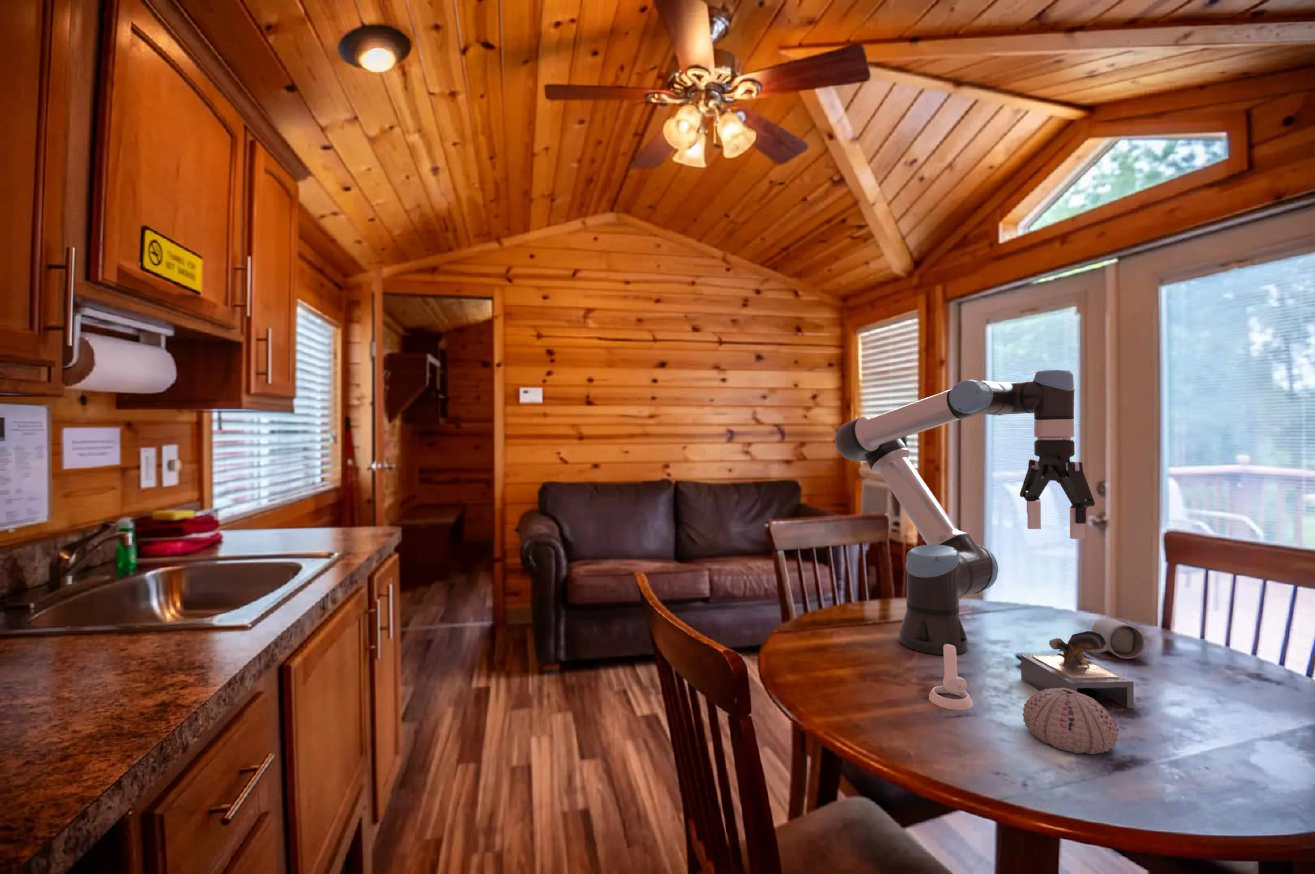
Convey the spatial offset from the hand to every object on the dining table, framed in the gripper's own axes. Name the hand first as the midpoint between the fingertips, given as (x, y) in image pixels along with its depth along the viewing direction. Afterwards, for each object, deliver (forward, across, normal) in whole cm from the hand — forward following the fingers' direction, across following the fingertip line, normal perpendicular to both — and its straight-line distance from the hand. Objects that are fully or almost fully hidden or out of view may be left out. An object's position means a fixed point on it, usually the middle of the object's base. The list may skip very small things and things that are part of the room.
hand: (1054, 533), depth 133 cm
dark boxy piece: (+29, -16, +8) cm, 34 cm away
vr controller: (+29, -18, +34) cm, 48 cm away
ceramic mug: (+29, +4, -16) cm, 34 cm away
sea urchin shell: (+29, -33, +22) cm, 49 cm away
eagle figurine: (+24, -15, +6) cm, 29 cm away
